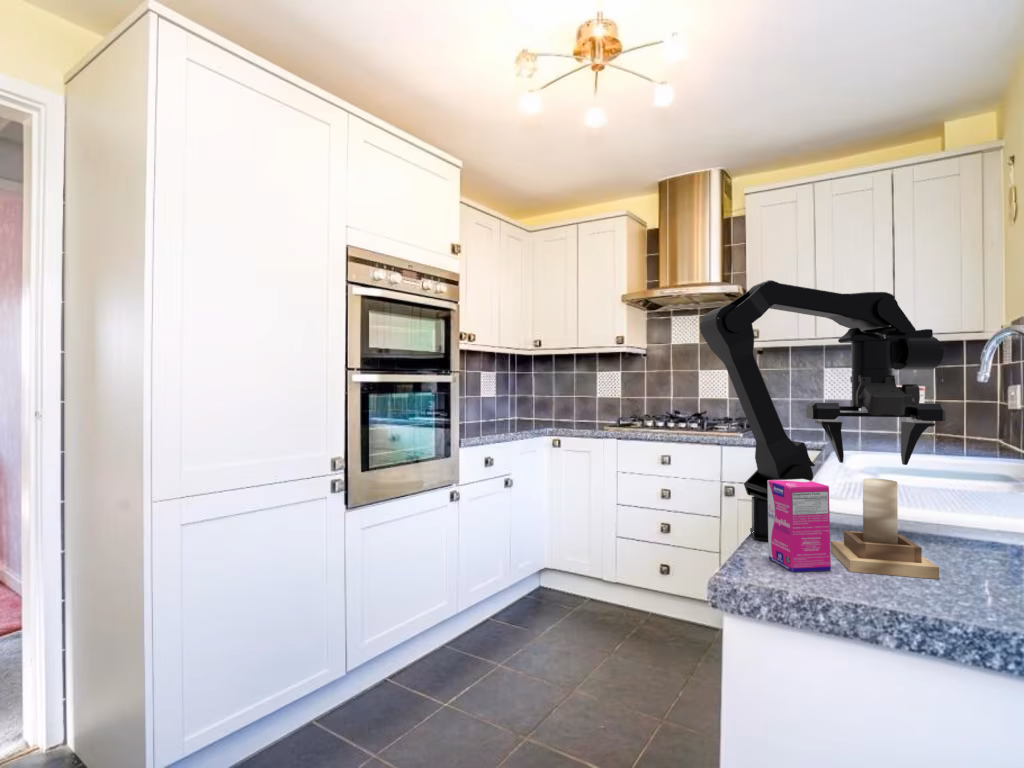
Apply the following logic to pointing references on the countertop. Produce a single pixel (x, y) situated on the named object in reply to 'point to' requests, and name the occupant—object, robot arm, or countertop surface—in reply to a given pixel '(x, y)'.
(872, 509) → the stool leg
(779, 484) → the supplement box
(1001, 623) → the countertop surface
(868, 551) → the seat board
